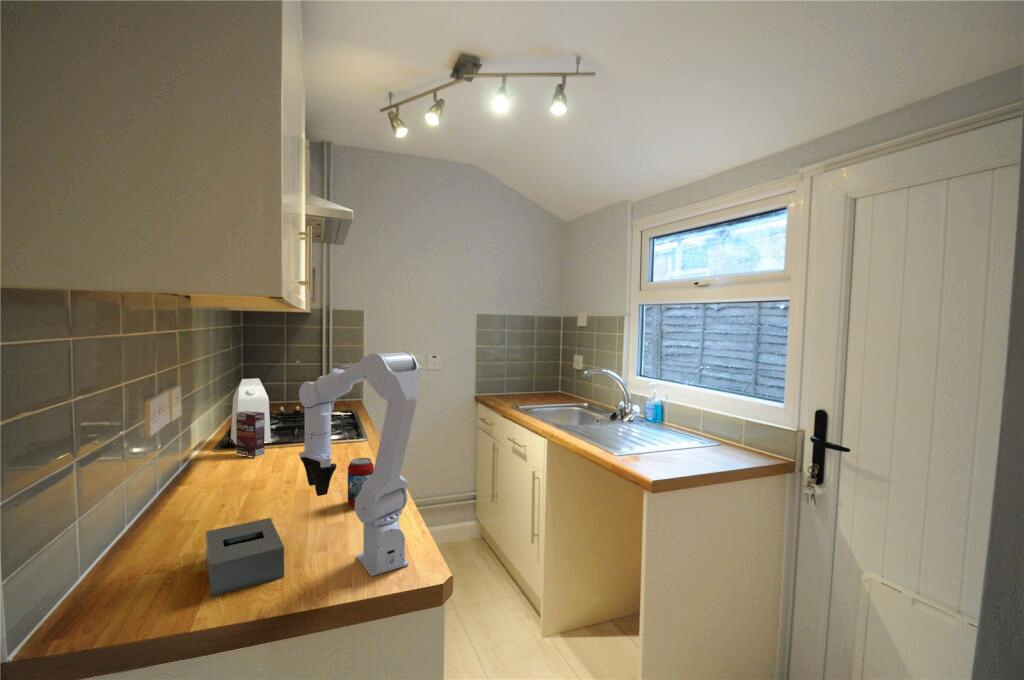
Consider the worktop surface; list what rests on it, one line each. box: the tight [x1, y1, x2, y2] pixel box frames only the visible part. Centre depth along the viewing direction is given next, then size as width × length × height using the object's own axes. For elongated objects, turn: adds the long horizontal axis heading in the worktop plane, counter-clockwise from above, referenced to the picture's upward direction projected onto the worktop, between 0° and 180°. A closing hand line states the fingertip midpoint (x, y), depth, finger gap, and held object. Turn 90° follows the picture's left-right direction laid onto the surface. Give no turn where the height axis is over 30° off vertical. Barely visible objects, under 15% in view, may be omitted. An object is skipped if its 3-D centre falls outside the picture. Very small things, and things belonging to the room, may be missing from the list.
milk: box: [230, 377, 272, 445], centre depth 184 cm, size 12×12×26 cm
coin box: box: [205, 517, 285, 598], centre depth 94 cm, size 16×12×6 cm
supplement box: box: [236, 411, 265, 457], centre depth 169 cm, size 9×5×16 cm, turn 73°
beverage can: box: [347, 457, 375, 508], centre depth 128 cm, size 7×7×12 cm
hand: (317, 489), depth 110 cm, fingers open, 7 cm apart
